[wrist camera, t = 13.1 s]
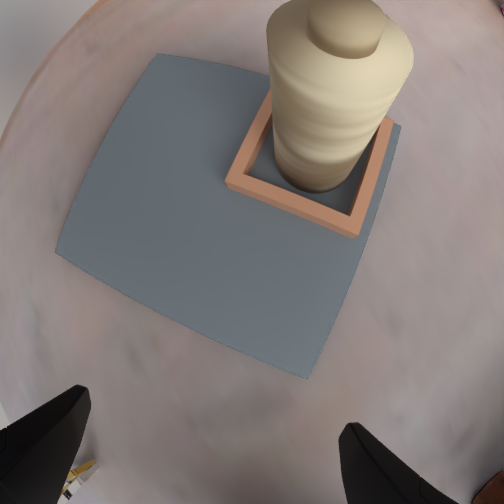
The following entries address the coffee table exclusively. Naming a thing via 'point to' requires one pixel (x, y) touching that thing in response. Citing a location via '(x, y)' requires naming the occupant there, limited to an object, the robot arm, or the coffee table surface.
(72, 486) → the ring
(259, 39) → the coffee table surface
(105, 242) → the board
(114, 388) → the coffee table surface
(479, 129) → the coffee table surface
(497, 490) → the wooden figurine
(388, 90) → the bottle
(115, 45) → the coffee table surface
